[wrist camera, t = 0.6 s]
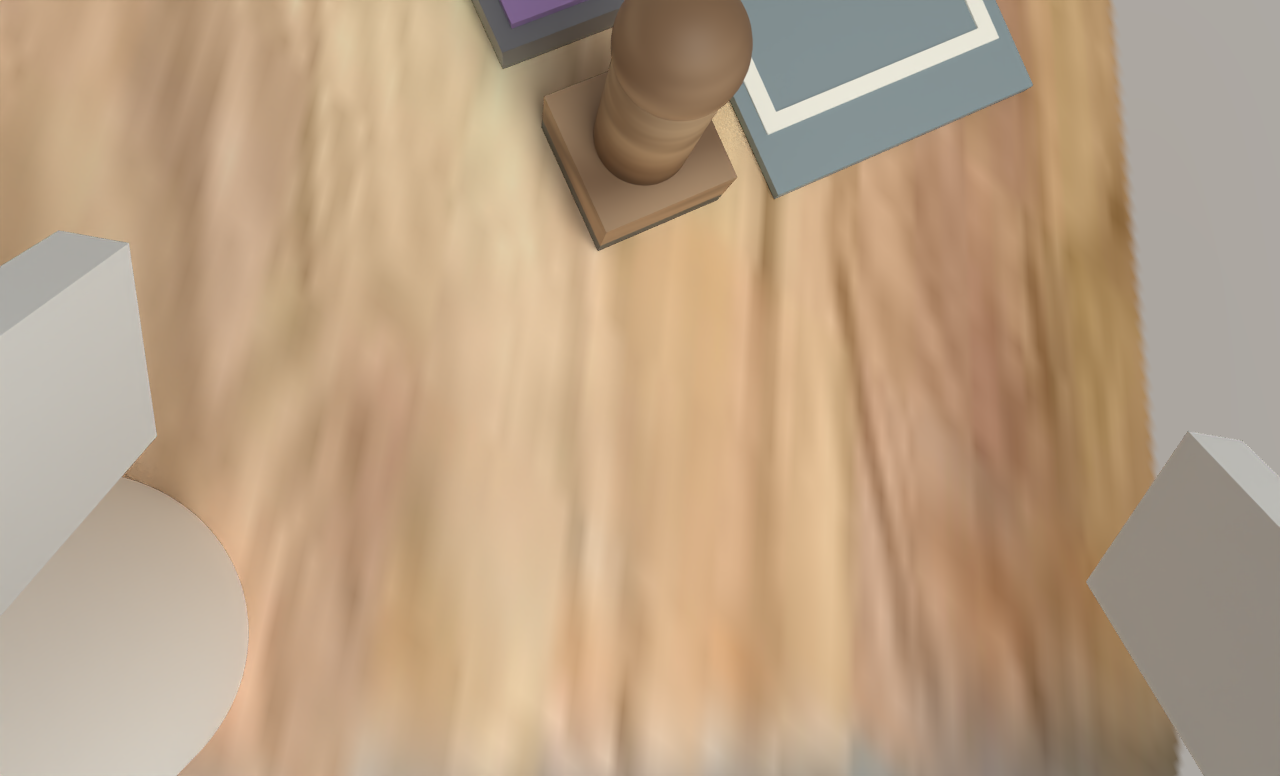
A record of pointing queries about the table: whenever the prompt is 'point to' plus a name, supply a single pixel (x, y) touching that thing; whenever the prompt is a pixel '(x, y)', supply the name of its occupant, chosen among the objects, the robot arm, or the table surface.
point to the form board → (865, 78)
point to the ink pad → (541, 24)
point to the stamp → (651, 116)
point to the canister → (122, 645)
